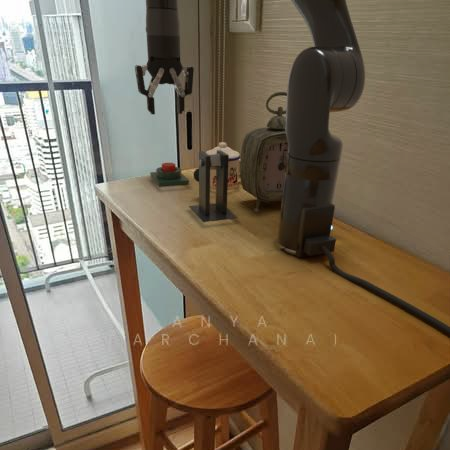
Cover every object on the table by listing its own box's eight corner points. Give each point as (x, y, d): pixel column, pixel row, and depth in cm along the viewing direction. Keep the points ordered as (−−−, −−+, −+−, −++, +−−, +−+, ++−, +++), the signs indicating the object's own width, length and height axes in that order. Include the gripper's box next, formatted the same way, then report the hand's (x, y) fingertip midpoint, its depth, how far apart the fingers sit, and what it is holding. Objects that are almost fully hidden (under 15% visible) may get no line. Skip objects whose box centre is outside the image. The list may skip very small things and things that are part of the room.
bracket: (188, 210, 94) (187, 148, 87) (221, 207, 97) (222, 146, 90) (203, 226, 87) (203, 160, 79) (237, 222, 89) (240, 157, 82)
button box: (188, 188, 108) (188, 173, 106) (159, 191, 106) (158, 175, 104) (178, 178, 116) (178, 163, 114) (150, 180, 114) (149, 165, 111)
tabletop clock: (251, 218, 91) (260, 94, 78) (234, 205, 98) (239, 89, 85) (306, 211, 97) (322, 93, 83) (286, 199, 104) (298, 89, 90)
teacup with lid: (211, 195, 104) (212, 147, 98) (200, 184, 112) (200, 139, 105) (253, 191, 108) (257, 145, 102) (240, 181, 115) (242, 138, 109)
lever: (193, 184, 96) (190, 170, 96) (205, 183, 97) (203, 169, 97) (209, 168, 84) (207, 152, 83) (224, 167, 85) (221, 151, 84)
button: (177, 172, 108) (177, 165, 107) (163, 173, 107) (163, 166, 106) (173, 168, 111) (173, 162, 110) (160, 169, 110) (160, 163, 109)
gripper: (134, 32, 87) (140, 117, 96) (198, 35, 92) (198, 115, 101) (128, 32, 93) (134, 112, 102) (188, 34, 98) (189, 110, 107)
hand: (166, 113), depth 102 cm, fingers open, 6 cm apart
